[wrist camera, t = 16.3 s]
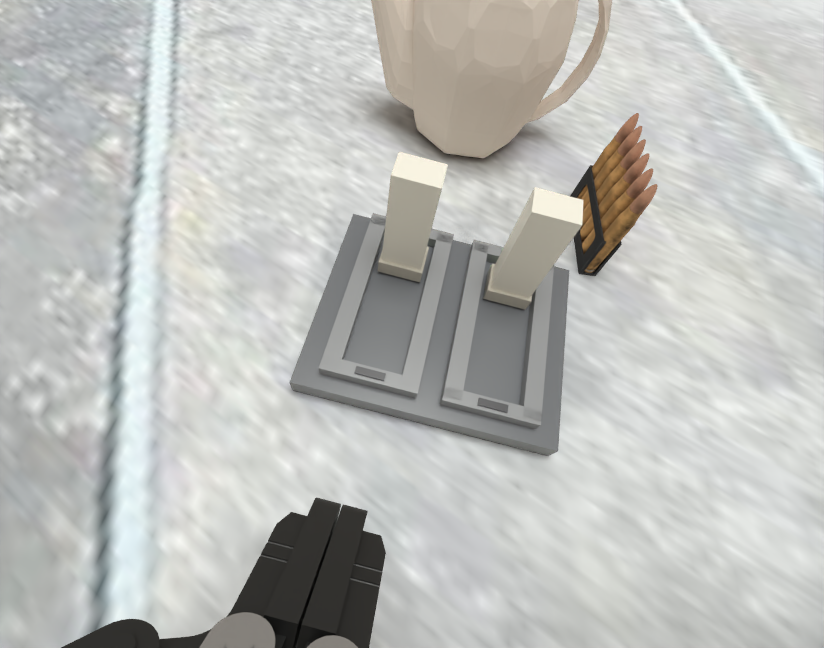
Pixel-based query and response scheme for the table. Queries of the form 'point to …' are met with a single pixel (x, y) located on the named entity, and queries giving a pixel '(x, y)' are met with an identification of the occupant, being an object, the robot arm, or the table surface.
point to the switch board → (438, 342)
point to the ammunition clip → (612, 198)
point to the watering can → (480, 65)
